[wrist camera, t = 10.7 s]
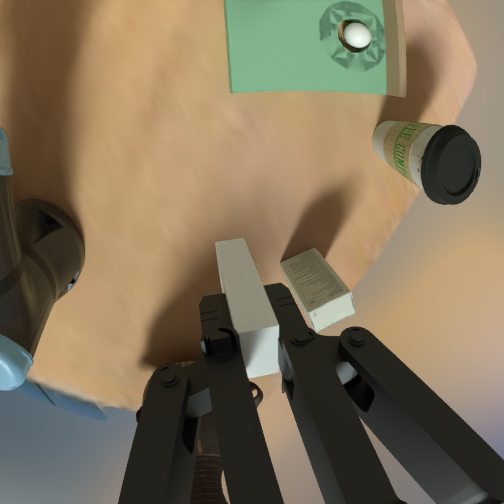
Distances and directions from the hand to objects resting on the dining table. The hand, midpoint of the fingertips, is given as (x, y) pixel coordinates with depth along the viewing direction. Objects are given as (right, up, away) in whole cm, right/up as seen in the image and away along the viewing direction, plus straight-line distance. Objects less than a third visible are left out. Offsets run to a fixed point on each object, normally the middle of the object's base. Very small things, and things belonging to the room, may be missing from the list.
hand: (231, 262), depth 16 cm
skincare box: (+9, -1, +32) cm, 33 cm away
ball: (+14, +28, +14) cm, 35 cm away
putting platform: (+9, +28, +15) cm, 33 cm away
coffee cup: (+21, +17, +24) cm, 37 cm away
